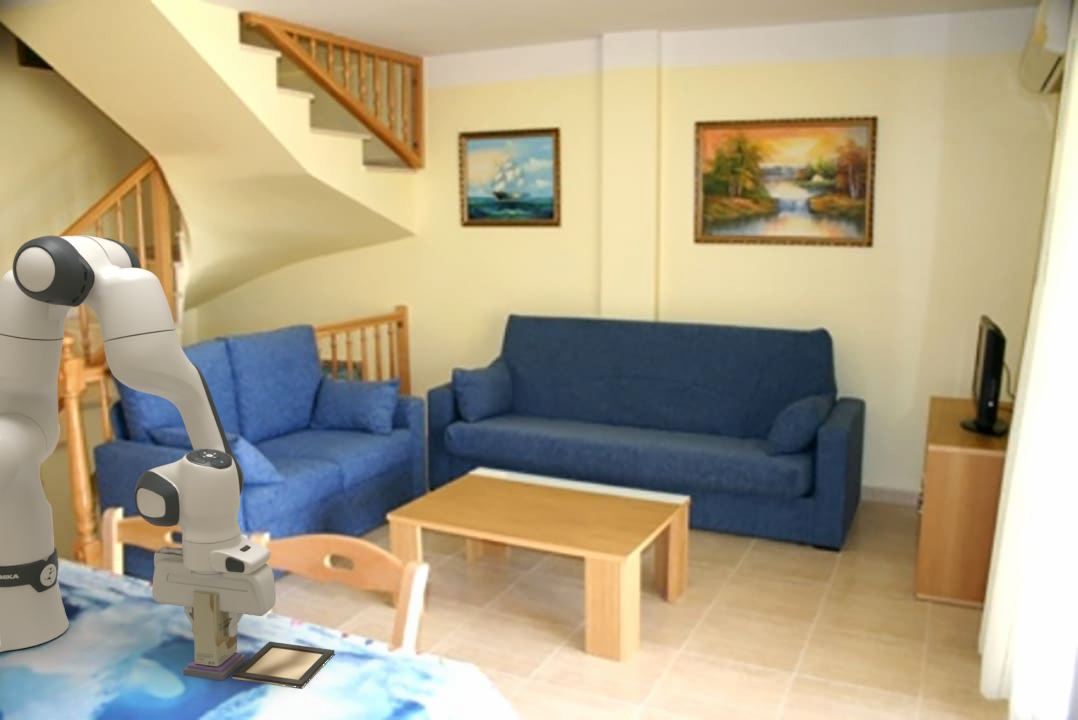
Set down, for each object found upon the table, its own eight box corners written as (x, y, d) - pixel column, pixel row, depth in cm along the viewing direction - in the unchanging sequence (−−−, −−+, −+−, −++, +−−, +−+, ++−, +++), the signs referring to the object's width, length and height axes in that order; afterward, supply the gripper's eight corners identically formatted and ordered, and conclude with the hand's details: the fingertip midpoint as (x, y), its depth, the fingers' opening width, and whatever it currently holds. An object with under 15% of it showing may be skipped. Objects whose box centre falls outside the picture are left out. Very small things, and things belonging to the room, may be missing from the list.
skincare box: (218, 668, 149) (216, 595, 147) (193, 664, 150) (191, 592, 148) (239, 650, 156) (237, 580, 154) (215, 647, 156) (213, 577, 155)
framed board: (232, 678, 149) (232, 674, 149) (269, 645, 161) (269, 641, 161) (301, 688, 147) (301, 684, 147) (334, 654, 158) (334, 650, 158)
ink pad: (183, 674, 150) (183, 666, 150) (207, 655, 157) (207, 646, 156) (223, 680, 149) (222, 671, 148) (246, 660, 155) (245, 652, 155)
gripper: (141, 551, 149) (145, 633, 151) (259, 565, 144) (261, 649, 147) (165, 538, 155) (168, 617, 157) (279, 551, 151) (280, 632, 153)
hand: (214, 633), depth 152 cm, fingers closed on skincare box, 4 cm apart
